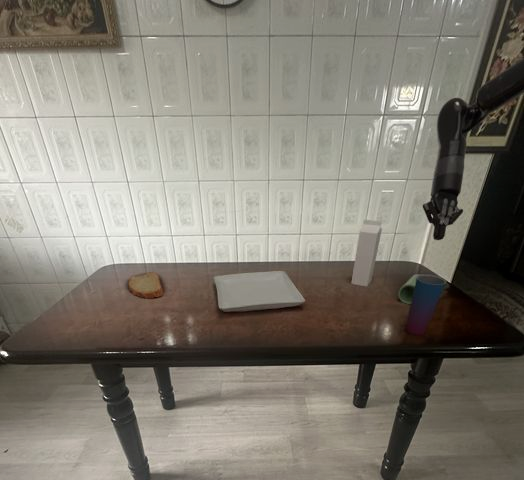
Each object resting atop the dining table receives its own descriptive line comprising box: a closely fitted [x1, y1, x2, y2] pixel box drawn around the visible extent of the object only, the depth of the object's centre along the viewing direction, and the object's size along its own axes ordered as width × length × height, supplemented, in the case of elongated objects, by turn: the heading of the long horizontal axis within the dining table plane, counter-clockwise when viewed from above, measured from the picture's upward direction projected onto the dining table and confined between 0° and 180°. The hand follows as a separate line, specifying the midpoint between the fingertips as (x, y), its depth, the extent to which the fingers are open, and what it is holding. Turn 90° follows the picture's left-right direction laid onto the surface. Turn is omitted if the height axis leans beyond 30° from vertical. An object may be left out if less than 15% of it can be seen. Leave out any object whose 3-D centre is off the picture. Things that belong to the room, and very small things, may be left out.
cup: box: [405, 274, 447, 336], centre depth 80 cm, size 7×7×15 cm
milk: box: [350, 219, 383, 288], centre depth 107 cm, size 6×6×22 cm
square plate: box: [213, 270, 306, 313], centre depth 103 cm, size 27×27×4 cm
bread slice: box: [127, 271, 164, 299], centre depth 111 cm, size 18×18×4 cm
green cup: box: [397, 273, 422, 305], centre depth 100 cm, size 7×7×11 cm
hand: (438, 239), depth 88 cm, fingers closed
